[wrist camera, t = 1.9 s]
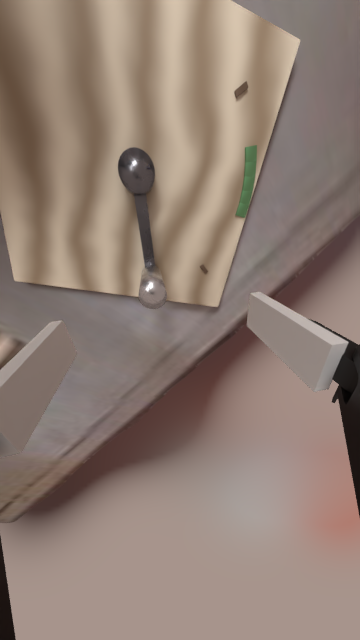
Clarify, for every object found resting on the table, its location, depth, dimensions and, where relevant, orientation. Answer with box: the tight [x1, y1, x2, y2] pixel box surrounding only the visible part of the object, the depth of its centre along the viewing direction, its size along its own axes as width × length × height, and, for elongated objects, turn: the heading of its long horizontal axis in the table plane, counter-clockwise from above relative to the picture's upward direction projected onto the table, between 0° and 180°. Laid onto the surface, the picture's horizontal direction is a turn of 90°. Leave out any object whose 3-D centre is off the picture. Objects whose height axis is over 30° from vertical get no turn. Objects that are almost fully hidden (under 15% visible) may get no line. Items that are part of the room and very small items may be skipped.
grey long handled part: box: [118, 147, 167, 309], centre depth 22 cm, size 17×4×11 cm, turn 4°
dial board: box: [0, 0, 300, 307], centre depth 25 cm, size 34×34×2 cm
